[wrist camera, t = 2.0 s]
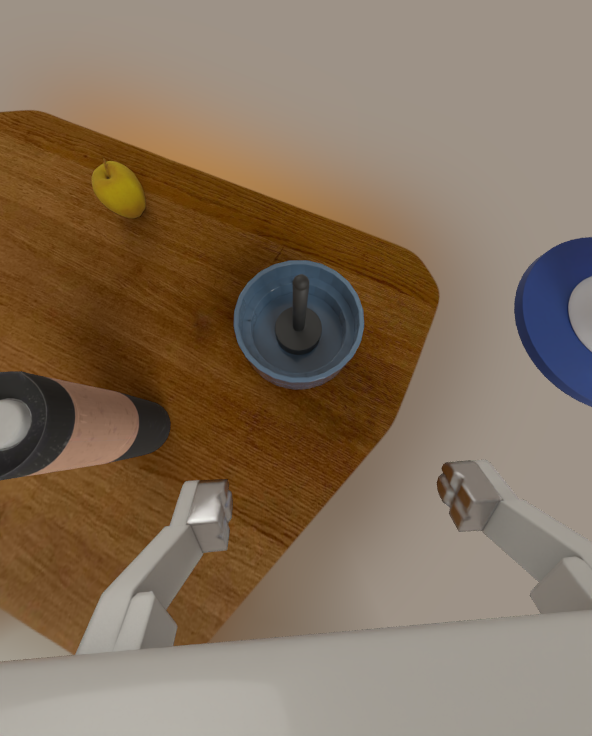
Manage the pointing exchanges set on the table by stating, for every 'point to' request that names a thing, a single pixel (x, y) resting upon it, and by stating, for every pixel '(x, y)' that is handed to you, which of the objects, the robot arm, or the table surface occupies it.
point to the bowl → (275, 295)
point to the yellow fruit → (119, 189)
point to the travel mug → (71, 425)
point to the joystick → (298, 322)
